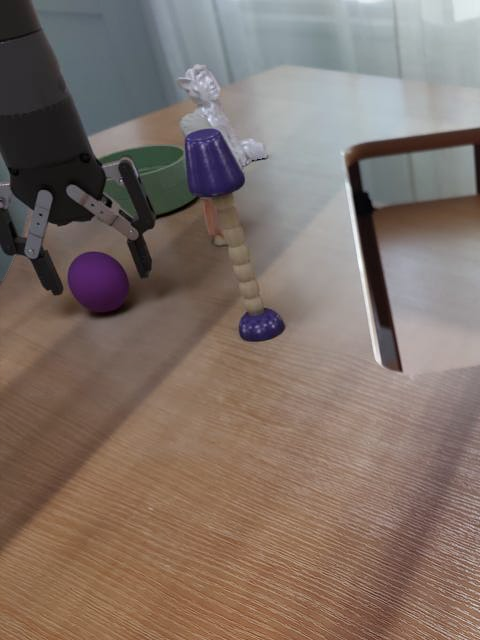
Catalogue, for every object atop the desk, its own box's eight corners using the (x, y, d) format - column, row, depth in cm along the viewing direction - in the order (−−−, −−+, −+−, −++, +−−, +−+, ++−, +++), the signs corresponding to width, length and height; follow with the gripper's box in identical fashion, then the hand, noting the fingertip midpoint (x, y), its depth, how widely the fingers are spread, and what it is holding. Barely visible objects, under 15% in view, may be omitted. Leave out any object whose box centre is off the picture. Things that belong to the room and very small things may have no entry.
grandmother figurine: (214, 230, 102) (177, 106, 93) (247, 225, 102) (213, 101, 93) (207, 255, 96) (166, 126, 87) (241, 250, 96) (204, 121, 87)
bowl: (91, 231, 106) (73, 187, 102) (102, 196, 115) (86, 155, 112) (199, 212, 107) (186, 167, 103) (201, 179, 116) (189, 138, 113)
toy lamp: (288, 337, 80) (234, 134, 68) (237, 348, 79) (174, 146, 67) (281, 316, 83) (229, 119, 71) (233, 327, 82) (172, 130, 70)
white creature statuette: (236, 179, 114) (208, 74, 106) (181, 179, 117) (149, 76, 109) (271, 156, 121) (246, 54, 112) (218, 156, 123) (189, 56, 115)
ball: (78, 326, 86) (53, 269, 82) (85, 303, 90) (61, 248, 86) (135, 316, 86) (113, 258, 82) (139, 293, 90) (118, 238, 86)
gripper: (111, 74, 78) (175, 256, 90) (-50, 102, 77) (35, 283, 89) (103, 93, 73) (172, 285, 84) (-70, 124, 72) (23, 313, 83)
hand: (102, 284), depth 87 cm, fingers open, 8 cm apart
